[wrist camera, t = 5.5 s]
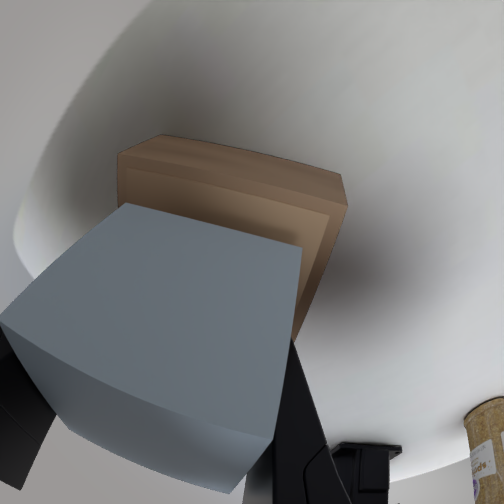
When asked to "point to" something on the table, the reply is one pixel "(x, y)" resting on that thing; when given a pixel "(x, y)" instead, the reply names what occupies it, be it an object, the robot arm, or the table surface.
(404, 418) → the table surface
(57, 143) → the table surface
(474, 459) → the sprinkles bottle
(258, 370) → the blue cube
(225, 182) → the base block
